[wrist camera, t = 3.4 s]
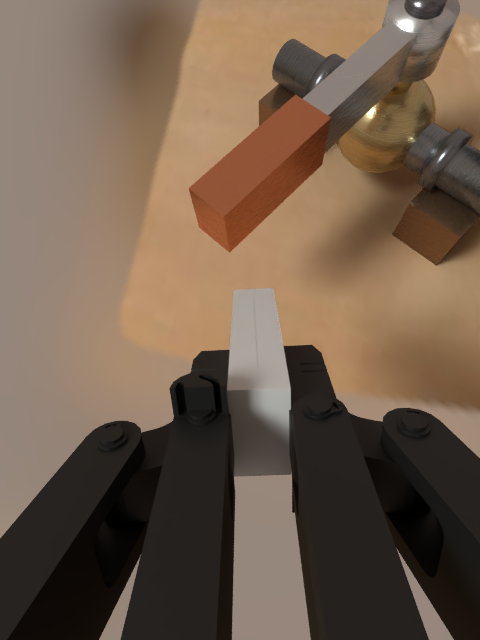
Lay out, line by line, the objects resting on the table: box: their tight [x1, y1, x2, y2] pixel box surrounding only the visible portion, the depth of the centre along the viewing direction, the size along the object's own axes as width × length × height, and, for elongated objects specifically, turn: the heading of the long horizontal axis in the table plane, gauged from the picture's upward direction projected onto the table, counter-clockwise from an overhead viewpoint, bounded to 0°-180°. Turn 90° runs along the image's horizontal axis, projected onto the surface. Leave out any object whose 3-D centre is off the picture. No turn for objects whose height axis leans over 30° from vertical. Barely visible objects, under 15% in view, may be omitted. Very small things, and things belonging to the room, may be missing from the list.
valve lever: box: [189, 0, 460, 253], centre depth 21 cm, size 18×4×4 cm, turn 136°
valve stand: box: [259, 39, 480, 265], centre depth 29 cm, size 18×7×10 cm, turn 46°
